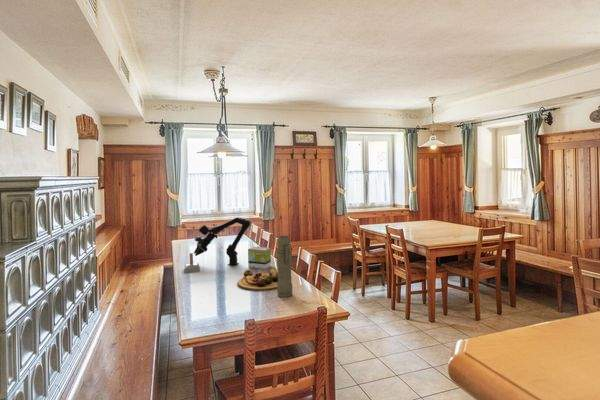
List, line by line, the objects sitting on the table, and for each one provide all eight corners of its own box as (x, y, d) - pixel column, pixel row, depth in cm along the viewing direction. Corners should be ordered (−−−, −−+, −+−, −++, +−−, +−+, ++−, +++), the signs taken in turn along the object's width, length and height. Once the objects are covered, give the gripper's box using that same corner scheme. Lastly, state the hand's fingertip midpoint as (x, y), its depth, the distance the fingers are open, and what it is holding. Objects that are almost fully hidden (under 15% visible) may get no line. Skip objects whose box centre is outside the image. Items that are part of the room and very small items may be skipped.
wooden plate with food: (228, 283, 250) (228, 270, 249) (269, 274, 269) (269, 262, 268) (253, 295, 224) (252, 282, 223) (295, 285, 243) (295, 272, 243)
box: (199, 271, 281) (199, 266, 280) (185, 272, 277) (185, 267, 277) (198, 267, 291) (198, 262, 291) (185, 268, 288) (184, 264, 288)
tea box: (248, 267, 289) (247, 248, 288) (254, 264, 298) (253, 246, 297) (265, 269, 283) (265, 249, 282) (271, 266, 292) (271, 247, 291)
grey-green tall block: (287, 291, 228) (286, 234, 226) (295, 297, 218) (294, 237, 215) (274, 293, 225) (272, 235, 222) (281, 299, 214) (280, 238, 211)
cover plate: (197, 267, 293) (196, 253, 292) (186, 268, 291) (185, 254, 290) (196, 264, 302) (196, 251, 302) (186, 265, 300) (185, 251, 299)
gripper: (199, 231, 304) (185, 246, 301) (202, 234, 287) (188, 250, 284) (209, 239, 308) (196, 254, 304) (213, 243, 290) (199, 259, 287)
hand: (194, 254), depth 295 cm, fingers open, 9 cm apart
